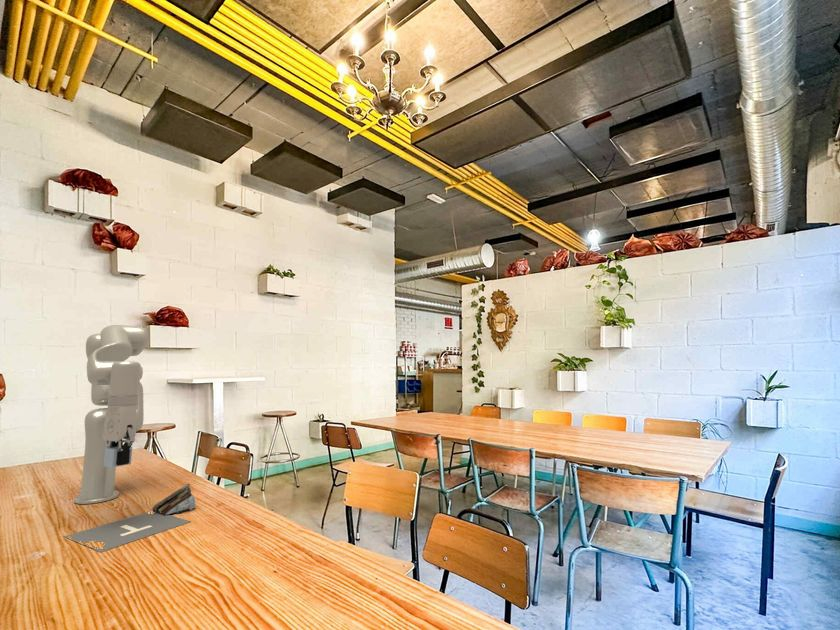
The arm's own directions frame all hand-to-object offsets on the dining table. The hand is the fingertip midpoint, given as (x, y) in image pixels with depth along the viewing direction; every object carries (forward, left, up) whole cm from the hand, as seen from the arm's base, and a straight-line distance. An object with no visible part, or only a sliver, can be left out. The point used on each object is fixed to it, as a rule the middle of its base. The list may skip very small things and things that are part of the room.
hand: (117, 463), depth 124 cm
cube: (0, 0, -1) cm, 1 cm away
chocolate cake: (+4, +17, -18) cm, 25 cm away
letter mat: (+7, +2, -18) cm, 19 cm away
